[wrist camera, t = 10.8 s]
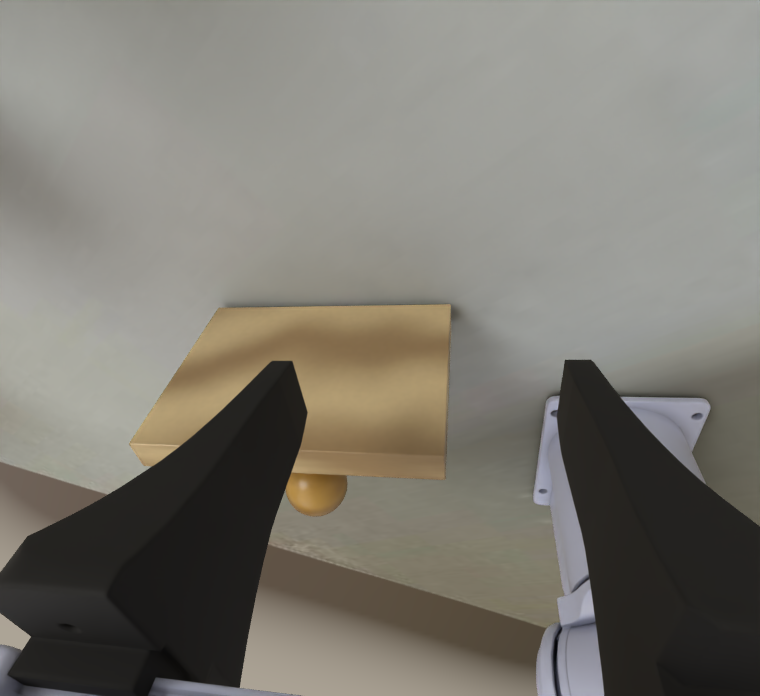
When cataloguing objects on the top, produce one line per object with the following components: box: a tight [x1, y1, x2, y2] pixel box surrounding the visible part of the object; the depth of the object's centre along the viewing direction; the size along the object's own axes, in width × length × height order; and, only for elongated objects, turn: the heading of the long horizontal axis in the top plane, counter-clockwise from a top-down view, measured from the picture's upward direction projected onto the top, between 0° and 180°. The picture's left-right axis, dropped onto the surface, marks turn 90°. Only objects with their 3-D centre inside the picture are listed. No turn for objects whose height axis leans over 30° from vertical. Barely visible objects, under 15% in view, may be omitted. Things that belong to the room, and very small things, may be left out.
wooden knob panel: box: [129, 304, 451, 516], centre depth 23 cm, size 9×12×6 cm
